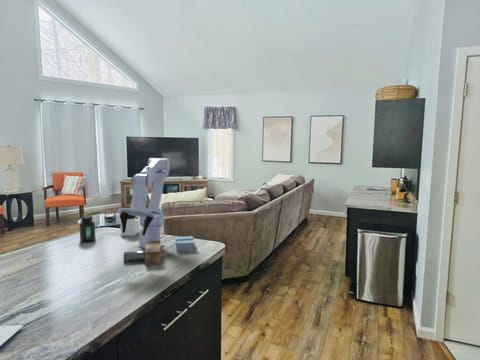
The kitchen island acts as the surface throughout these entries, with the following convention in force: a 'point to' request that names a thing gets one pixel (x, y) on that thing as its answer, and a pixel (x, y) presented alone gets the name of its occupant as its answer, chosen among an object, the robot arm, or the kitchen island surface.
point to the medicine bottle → (131, 226)
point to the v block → (185, 244)
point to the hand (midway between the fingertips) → (133, 233)
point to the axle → (134, 256)
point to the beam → (152, 253)
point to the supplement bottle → (87, 229)
